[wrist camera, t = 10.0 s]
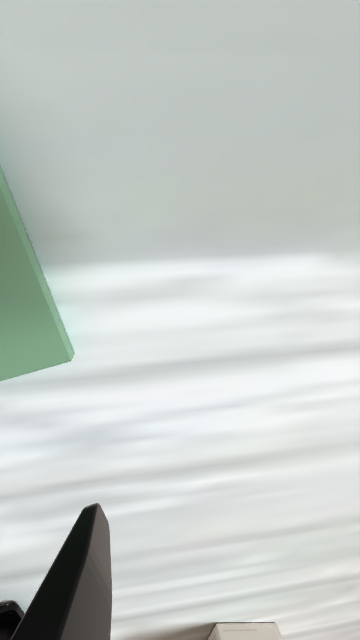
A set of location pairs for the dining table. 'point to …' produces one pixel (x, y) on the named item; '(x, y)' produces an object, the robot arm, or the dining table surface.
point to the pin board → (25, 301)
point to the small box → (245, 631)
